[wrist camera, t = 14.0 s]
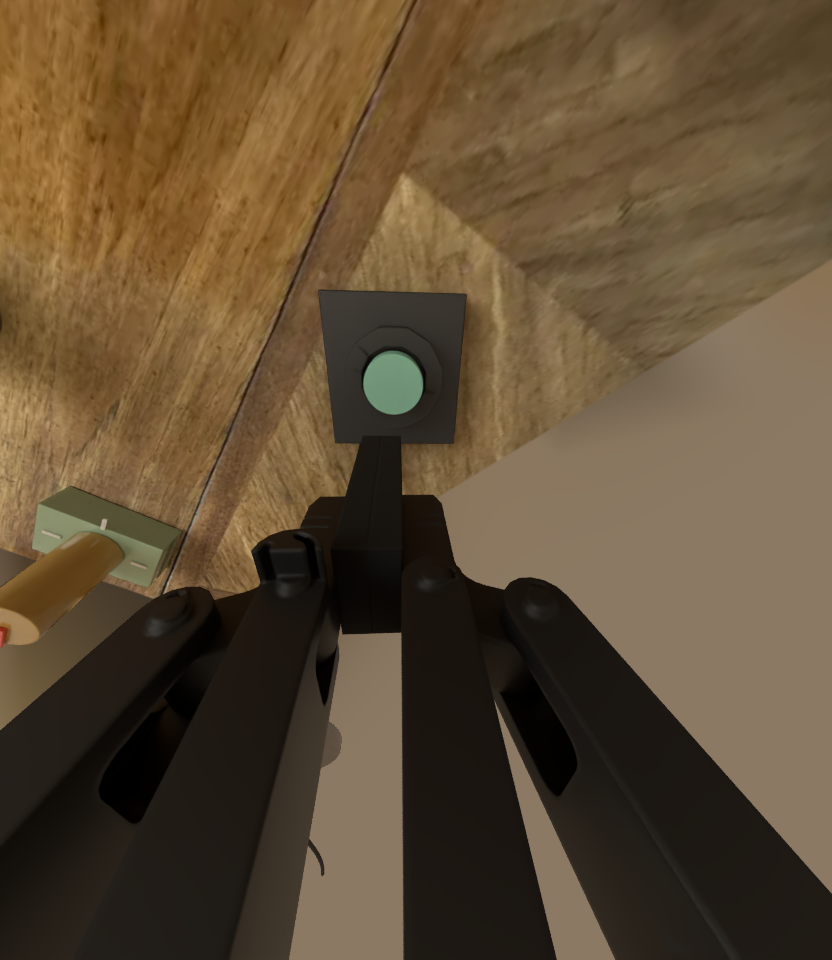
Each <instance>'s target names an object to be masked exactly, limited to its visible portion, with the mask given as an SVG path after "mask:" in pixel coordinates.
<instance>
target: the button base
mask: <svg viewBox="0 0 832 960" xmlns="http://www.w3.org/2000/svg"><path fill="white" fill-rule="evenodd" d="M318 293H319V302H320V311H321V320H322V329H323V338H324V347H325V356H326V365H327V374H328V383H329V392H330V401H331V409H332V418H333V427H334V436H335V443H361V439H362V436H401V443H412V444H453V443H454V433H455V422H456V410H457V399H458V388H459V376H460V365H461V354H462V342H463V331H464V319H465V308H466V297H467V295H466V294H456V293H420V292H385V291H349V290H318ZM386 351H400V352H403V353H405V354H407V355H409V356H410V357H411V358H412V359H414V361H415V362H416V363H417V365H418V367H419V369H420V372H421V375H422V378H423V391H422V395H421V398H420V399H419V401H418V403H417V404H416V405H415V406H414V407H413V408H412V409H410V410H409V411H407V412H405V413H402V414H396V415H392V414H386V413H383V412H381V411H379V410H377V409H376V408H375V407H374V406H373V405H372V404H371V403H370V402H369V400H368V399H367V397H366V394H365V391H364V385H363V383H364V376H365V372H366V370H367V368H368V366H369V364H370V363H371V361H372V360H373V359H374V358H375V357H376V356H378V355H379V354H381V353H383V352H386Z"/></svg>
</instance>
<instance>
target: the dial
mask: <svg viewBox="0 0 832 960" xmlns="http://www.w3.org/2000/svg"><path fill="white" fill-rule="evenodd" d="M123 558H124V555H123V552H122V550H121V548H120V547H119V546H118V545H117V544H116V543H115V542H114V541H112V540H111V539H109V538H107V537H105V536H103V535H100V534H97V533H92V532H81V533H77V534H75V535H73V536H72V537H70V538H69V539H67V540H66V541H65V542H63V543H62V544H60V545H59V546H57V547H56V548H55V549H53V550H52V551H50V552H49V553H47V554H46V555H45V556H43V557H42V558H40V559H39V560H38V561H36V562H35V563H33V564H32V565H30V566H29V567H28V568H26V569H25V570H23V571H22V572H21V573H19V574H18V575H16V576H15V577H13V578H12V579H10V580H9V581H8V582H6V583H5V584H4V585H2V586H1V587H0V647H2V646H3V645H5V643H6V644H13V645H26V644H31V643H34V642H36V641H37V640H38V639H40V638H41V637H42V636H43V635H44V634H45V633H46V632H47V631H48V630H49V629H50V628H51V627H53V625H55V624H56V623H57V622H58V621H59V620H60V619H61V618H62V617H63V616H64V615H65V614H67V613H68V612H69V611H70V610H71V609H72V608H73V607H74V606H75V605H76V604H77V603H79V602H80V601H81V600H82V599H83V598H84V597H85V596H86V595H87V594H88V593H89V592H90V591H92V589H93V588H95V587H96V586H97V585H98V584H99V583H100V582H101V581H102V580H103V579H105V578H106V577H107V576H108V575H109V574H110V573H111V572H112V571H113V570H114V569H115V568H116V567H118V566H119V565H120V564H121V563H122V561H123Z"/></svg>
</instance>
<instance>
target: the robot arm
mask: <svg viewBox="0 0 832 960" xmlns="http://www.w3.org/2000/svg"><path fill="white" fill-rule="evenodd" d="M251 552H252V556H253V559H254V562H255V565H256V569H257V572H258V575H259V578H260V584H259V586H258V587H257V588H255V589H252V590H249V591H247V592H244V593H240V594H236V595H232V596H229V597H225V598H221V599H217V600H214V599H213V597H212V595H211V593H210V591H208V590H206V589H204V588H201V587H184V588H180V589H176V590H172V591H170V592H167V593H165V594H163V595H161V596H159V597H157V598H155V599H153V600H152V601H151V602H149V603H148V604H146V605H145V606H144V607H142V608H141V609H140V610H139V611H137V612H136V613H135V614H134V615H133V616H131V617H130V618H129V619H128V620H127V621H126V622H125V623H123V624H122V625H121V626H120V627H119V628H118V629H116V630H115V631H114V632H113V633H112V634H111V635H110V636H108V637H107V638H106V639H105V640H104V641H103V642H102V643H100V644H99V645H98V646H97V647H96V648H95V649H93V650H92V651H91V652H90V653H89V654H88V655H87V656H86V657H84V658H83V659H82V660H81V661H80V662H79V663H77V664H76V665H75V666H74V667H73V668H72V669H71V670H69V671H68V672H67V673H66V674H65V675H64V676H62V677H61V678H60V679H59V680H58V681H57V682H56V683H55V684H54V685H52V686H51V687H50V688H49V689H47V691H45V692H44V693H43V694H42V695H41V696H39V697H38V698H37V699H36V700H35V701H34V702H32V703H31V704H30V705H29V706H28V707H27V708H26V709H24V710H23V711H22V712H21V713H20V714H19V715H18V716H16V717H15V718H14V719H13V720H12V721H11V722H9V723H8V724H7V725H6V726H5V727H4V728H3V729H2V730H0V960H289V955H290V949H291V943H292V937H293V931H294V925H295V919H296V913H297V907H298V901H299V895H300V889H301V883H302V877H303V871H304V865H305V859H306V853H307V847H308V846H309V847H310V848H311V850H312V851H313V852H314V854H315V855H316V857H317V859H318V861H319V863H320V866H321V875H322V876H323V875H324V865H323V861H322V858H321V856H320V854H319V852H318V851H317V849H316V847H315V846H314V845H313V843H312V842H311V841H310V839H309V836H310V830H311V824H312V818H313V812H314V806H315V800H316V793H317V788H318V782H319V775H320V770H321V764H322V758H323V752H324V746H325V740H326V734H327V728H328V722H329V715H330V709H331V704H332V698H333V692H334V685H335V680H336V674H337V668H338V662H339V646H338V636H339V630H340V625H341V627H342V634H370V633H400V632H401V635H402V797H403V798H402V799H403V800H402V803H403V954H404V955H403V956H404V957H403V959H404V960H557V959H556V955H555V950H554V946H553V942H552V938H551V934H550V930H549V926H548V921H547V918H546V914H545V909H544V905H543V901H542V897H541V892H540V888H539V885H538V880H537V876H536V872H535V868H534V864H533V859H532V855H531V851H530V847H529V843H528V839H527V835H526V830H525V826H524V822H523V818H522V814H521V810H520V806H519V801H518V798H517V793H516V790H515V785H514V781H513V777H512V773H511V769H510V764H509V760H508V756H507V752H506V748H505V744H504V740H503V735H502V732H501V728H500V723H499V719H498V715H497V711H496V707H495V702H496V704H497V707H498V708H499V711H500V713H501V715H502V717H503V719H504V722H505V724H506V726H507V728H508V730H509V732H510V734H511V737H512V738H513V741H514V743H515V745H516V747H517V749H518V752H519V754H520V756H521V758H522V760H523V762H524V764H525V767H526V769H527V771H528V773H529V775H530V777H531V779H532V781H533V784H534V786H535V788H536V790H537V792H538V794H539V796H540V799H541V801H542V803H543V805H544V807H545V809H546V812H547V814H548V816H549V818H550V820H551V822H552V824H553V827H554V829H555V831H556V833H557V835H558V837H559V839H560V842H561V843H562V846H563V848H564V850H565V852H566V854H567V857H568V858H569V861H570V863H571V865H572V867H573V870H574V872H575V874H576V876H577V878H578V880H579V882H580V884H581V887H582V889H583V891H584V893H585V895H586V897H587V900H588V902H589V904H590V906H591V908H592V910H593V912H594V915H595V917H596V919H597V921H598V923H599V925H600V928H601V930H602V932H603V934H604V936H605V938H606V940H607V942H608V945H609V947H610V949H611V951H612V953H613V955H614V957H615V960H832V894H831V893H830V891H829V890H828V889H827V888H826V887H825V886H824V885H823V884H822V883H821V881H820V880H819V879H818V878H817V877H816V876H815V875H814V873H813V872H812V871H811V870H810V869H809V868H808V867H807V866H806V865H805V863H804V862H803V861H802V860H801V859H800V858H799V856H798V855H797V854H796V853H795V852H794V851H793V850H792V849H791V847H790V846H789V845H788V844H787V843H786V842H785V841H784V840H783V838H782V837H781V836H780V835H779V834H778V833H777V832H776V831H775V829H774V828H773V827H772V826H771V825H770V824H769V823H768V821H767V820H766V819H765V818H764V817H763V816H762V815H761V814H760V812H759V811H758V810H757V809H756V808H755V807H754V806H753V805H752V803H751V802H750V801H749V800H748V799H747V798H746V797H745V796H744V794H743V793H742V792H741V791H740V790H739V789H738V788H737V787H736V786H735V784H734V783H733V782H732V781H731V780H730V779H729V777H728V776H727V775H726V774H725V773H724V772H723V771H722V770H721V768H720V767H719V766H718V765H717V764H716V763H715V762H714V761H713V760H712V758H711V757H710V756H709V755H708V754H707V753H706V752H705V750H704V749H703V748H702V747H701V746H700V745H699V744H698V743H697V741H696V740H695V739H694V738H693V737H692V736H691V735H690V734H689V733H688V731H687V730H686V729H685V728H684V727H683V726H682V724H681V723H680V722H679V721H678V720H677V719H676V718H675V717H674V716H673V714H672V713H671V712H670V711H669V710H668V709H667V708H666V707H665V705H664V704H663V703H662V702H661V701H660V700H659V699H658V698H657V696H656V695H655V694H654V693H653V692H652V691H651V690H650V688H649V687H648V686H647V685H646V684H645V683H644V682H643V680H642V679H641V678H640V677H639V676H638V675H637V674H636V673H635V672H634V670H633V669H632V668H631V667H630V666H629V665H628V664H627V663H626V661H625V660H624V659H623V658H622V657H621V656H620V655H619V654H618V653H617V651H616V650H615V649H614V648H613V647H612V646H611V644H610V643H609V642H608V641H607V640H606V639H605V638H604V636H603V635H602V634H601V633H600V632H599V631H598V630H597V629H596V628H595V626H594V625H593V624H592V623H591V622H590V621H589V620H588V618H587V617H586V616H585V615H584V614H583V613H582V612H581V611H580V610H579V608H578V607H577V606H576V605H575V604H574V603H573V602H572V601H571V599H570V598H569V597H568V596H567V595H566V594H564V592H562V591H561V590H560V589H559V588H558V587H556V586H554V585H552V584H550V583H548V582H547V581H544V580H540V579H536V578H531V577H530V578H518V579H516V580H514V581H512V582H510V583H509V585H508V586H507V587H506V589H505V590H503V589H499V588H495V587H490V586H486V585H482V584H480V583H477V582H475V581H473V580H471V579H469V578H468V577H466V576H465V575H464V574H463V573H462V572H461V570H460V568H459V567H458V566H456V563H455V561H454V557H453V552H452V548H451V543H450V539H449V535H448V530H447V526H446V521H445V517H444V512H443V508H442V504H441V502H440V501H439V500H438V499H437V498H436V497H435V496H434V495H402V464H401V436H362V439H361V443H360V446H359V450H358V453H357V457H356V460H355V464H354V468H353V471H352V475H351V478H350V482H349V485H348V489H347V492H346V496H345V497H320V498H318V499H317V500H316V501H315V502H314V503H313V504H311V505H310V506H309V508H308V510H307V513H306V515H305V519H303V522H302V524H301V526H300V529H293V530H285V531H281V532H278V533H275V534H272V535H270V536H268V537H267V538H265V539H263V540H262V541H260V542H259V543H258V544H257V545H256V546H255V547H254V548H253V549H252V551H251ZM494 700H495V702H494Z"/></svg>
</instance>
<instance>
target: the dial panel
mask: <svg viewBox="0 0 832 960" xmlns="http://www.w3.org/2000/svg"><path fill="white" fill-rule="evenodd" d="M81 532H92V533H97V534H100V535H103V536H105V537H107V538H109V539H111V540H112V541H114V542H115V543H116V544H117V545H118V546H119V547H120V548H121V550H122V552H123V555H124V558H123V561H122V563H121V564H120V565H119V566H118V567H116V568H115V569H114V570H113V571H112V572H111V573H110V574H109V575H112V576H115V577H118V578H121V579H124V580H127V581H130V582H133V583H136V584H139V585H142V586H145V587H147V588H149V587H150V586H151V585H152V583H153V582H154V581H155V580H156V579H157V578H158V577H159V576H160V575H161V573H162V572H163V571H164V570H165V569H166V568H167V566H168V564H169V561H170V559H171V557H172V554H173V552H174V549H175V547H176V544H177V542H178V540H179V537H180V535H181V532H182V531H181V530H178V529H176V528H173V527H171V526H168V525H166V524H163V523H161V522H158V521H156V520H153V519H151V518H148V517H146V516H143V515H141V514H138V513H136V512H133V511H131V510H128V509H126V508H123V507H121V506H118V505H116V504H113V503H111V502H108V501H106V500H103V499H101V498H98V497H96V496H93V495H91V494H88V493H86V492H83V491H81V490H78V489H76V488H73V487H71V486H69V487H67V488H66V489H64V490H62V491H60V492H58V493H56V494H55V495H53V496H51V497H49V498H47V499H45V500H44V501H42V502H40V503H38V507H37V514H36V522H35V529H34V536H33V543H32V549H34V550H37V551H40V552H43V553H46V554H47V553H49V552H50V551H52V550H53V549H55V548H56V547H57V546H59V545H60V544H62V543H63V542H65V541H66V540H67V539H69V538H70V537H72V536H73V535H75V534H77V533H81Z"/></svg>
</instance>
